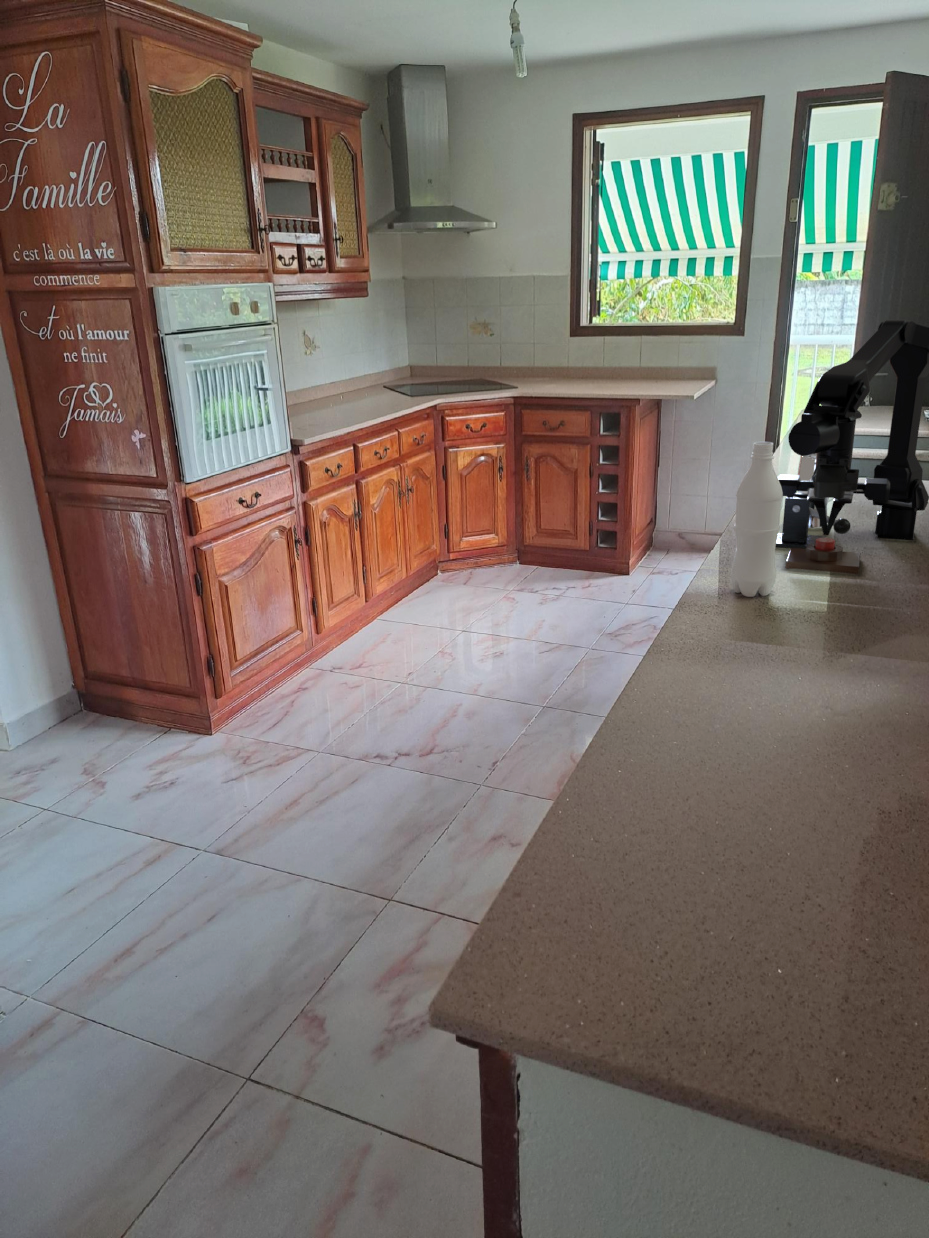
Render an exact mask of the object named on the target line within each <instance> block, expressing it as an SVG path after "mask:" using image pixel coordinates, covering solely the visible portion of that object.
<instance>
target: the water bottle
mask: <svg viewBox="0 0 929 1238" xmlns="http://www.w3.org/2000/svg"><path fill="white" fill-rule="evenodd" d="M773 448H774V442H772V441H754V442H753V445H752V452H751V455H750V460H751V462H750V466H749V468H748V469H747V472H746V473H745V474H744V476H743V477H742V480H741V481H740V483H739V485H738V487H737V490H736V494H735V497H736V502H735V520H734V524H733V529H734V536H735V549H734V551H735V552H734V557H733V560H732V565H731V569H730V583H731V587H732V588H733V591H734V592H735V593H736V594H740V593H741V595H742V596H744V597H747V598H754V597H755V596H756V595H757V593H758V594H760V596H762V597H765V596H768V595H770V593H771V592H772V590H773V588H774V586H775V584H776V580H777V566H776V547H775V546H776V540H777V536H778V533H780V532H779V531H780V529H781V524H780V522H781V512H782V499H783V497H784V496H783V492H782V487H781V485H780V482H779V480H778V478H777V477H778V475H777V473H776V472H775V469H774V465H773V460H774V458H775V456H774V452H773V450H774V449H773Z"/></svg>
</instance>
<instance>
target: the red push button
mask: <svg viewBox="0 0 929 1238" xmlns="http://www.w3.org/2000/svg"><path fill="white" fill-rule="evenodd" d="M835 544H836V539H834V538H831V537H826V538H817V539H816V544H815V549H819V550H834V546H835Z"/></svg>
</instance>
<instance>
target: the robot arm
mask: <svg viewBox="0 0 929 1238" xmlns="http://www.w3.org/2000/svg"><path fill="white" fill-rule="evenodd" d="M877 328H878V329H877V330H876V332H874V334H872V336H871V337H870V338H869V339H868V340H867V341H866V342H865V343H864V344H863V345H862V346H861V347H860V349H858V350H857V352H855V353H854V354H853V356H851V358H850V359H849V360H847V361H846V362H843V363H841V364H838V365H834V366H833V367H831V368H829V369H828V370H827V371H825V372H824V373H823V374H821V376H820V377H819V378H818V381H816V384H815V386H814V388H813V391H812V393H811V395H810V397H809V399H808V401H807V404H806V406H805V408H804V410H803V413H801V417H800V421H799V422H797V423H795V424H794V425H793V426H792V428H791V429H790V431H789V433H788V439H787V440H788V445H789V447H790V449H791V450H792V451H793V453H795V454H796V455H798V456H800V457H801V456H807V455H811V454H815V453H817V457H816V468H815V470H814V476H813V481H801V480H800V475H798V474H779V475H777V478H778V480H779V482H780V485H781V487H782V492H783V497H787V496H792V495H794V494H795V493H798V491H808V492H807V494H808V497H807V501H808V502H813V503H814V505H815V507H816V509H817V512H818V514H819V518H820V522H821V526H822V528H821V529H822V530H821V531H822V534H823V536H829V535H830V533H831V530H832V528H833V524H834V522H835V520H837V518H838V516H839V514H840V512H841V511H842V509H843V508H844V507H845V505H847V504H849V505H850V504H852V503H853V498H854V494H857V495H864V497H865V498H866V499H867V500H868V501H872V505H873V506H880V507H881V508H880V510H878V511H877V514H876V522H875V529H874V533H875V535H876V537H877V539H885V540H886V539H887V540H902V541H903V540H904V541H914V540H915V527H916V519H917V515H918V514H917V512H918V511H925V510H926V508H927V506H928V504H929V493H928V491H927V488H926V487H925V484H924V481H923V467H922V466H921V463H920V461H919V459H918V458H917V455H916V452H917V446H918V438H919V433H920V423H921V418H922V417H921V416H922V409H923V402H924V395H925V389H926V383H927V382H926V381H927V377H928V376H929V326H926V325H922V324H918V323H916V322H914V321H913V320H909V319H886V320H883V321H881V322H880V323H879V325H878V327H877ZM888 361H889V365H890V367H891V368H892V370H893V372H894V375H895V376H896V384H895V391H894V399H893V407H892V415H891V422H890V430H889V437H888V444H887V445H888V446H887V454H886V456H885V457H884V458H883V460H882V461H881V462H880V464H876V465H875V467H874V469H873V477H866V478H865V482H859V475H860V469H859V468H857V469H856V468H852V461H853V453H854V442H855V432H856V425H857V424H856V423H857V420H859V419H862V417H863V416H862V415H863V414H862V412H861V411H860V410H859V408H860V407H861V405H862V404H863V402H864V401H865V399H866V398H867V396H868V395H869V394H870V392H871V384H870V383H871V381H872V380H873V378H874V377H875V376H876V375H877V374H878V373H879V371H881V370H882V368H883V367H884V366H885V365H886V364H887V363H888ZM827 497H828V498H829V499H833V502H832V505H831V509H830V514H829V521H828V523H827V516H828V503H827Z"/></svg>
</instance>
